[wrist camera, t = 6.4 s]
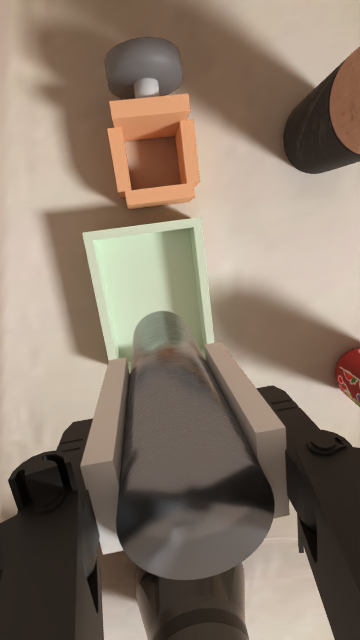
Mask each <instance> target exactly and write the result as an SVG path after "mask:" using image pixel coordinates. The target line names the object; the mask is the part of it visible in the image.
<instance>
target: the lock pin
mask: <svg viewBox="0 0 360 640" xmlns="http://www.w3.org/2000/svg"><path fill="white" fill-rule="evenodd" d="M274 511H275V502H274V495H273V491H272V488H271V486H270V484H269V482H268V480H267V478H266V476H265V474H264V472H263V470H262V468H261V466H260V464H259V462H258V460H257V458H256V457H255V455H254V453H253V451H252V449H251V447H250V445H249V443H248V441H247V439H246V437H245V435H244V433H243V431H242V430H241V428H240V426H239V424H238V422H237V420H236V418H235V416H234V414H233V412H232V410H231V408H230V406H229V405H228V403H227V401H226V399H225V397H224V395H223V393H222V391H221V389H220V387H219V385H218V383H217V381H216V379H215V378H214V376H213V374H212V372H211V370H210V368H209V366H208V364H207V362H206V360H205V358H204V356H203V354H202V352H201V351H200V349H199V347H198V345H197V343H196V341H195V339H194V337H193V335H192V333H191V331H190V329H189V327H188V326H187V324H186V322H185V321H184V320H183V319H182V318H181V317H180V316H178V315H177V314H175V313H172V312H168V311H157V312H153V313H150V314H148V315H147V316H145V317H144V318H143V319H141V320H140V322H139V323H138V324H137V326H136V328H135V331H134V335H133V345H132V355H131V366H130V377H129V388H128V399H127V410H126V420H125V431H124V442H123V453H122V464H121V474H120V485H119V494H118V505H117V515H116V530H117V536H118V539H119V542H120V545H121V547H122V548H123V550H124V552H125V553H126V555H127V556H128V557H129V558H130V559H131V560H132V561H133V562H134V563H135V564H136V565H137V566H139V567H140V568H142V569H143V570H145V571H147V572H149V573H151V574H154V575H156V576H159V577H163V578H167V579H175V580H195V579H201V578H207V577H210V576H214V575H217V574H220V573H222V572H225V571H227V570H229V569H231V568H233V567H235V566H236V565H238V564H239V563H241V562H242V561H244V560H245V559H246V558H248V557H249V556H250V555H251V554H252V553H253V552H254V551H255V550H256V549H257V548H258V547H259V545H260V544H261V543H262V542H263V540H264V538H265V537H266V535H267V533H268V531H269V529H270V527H271V524H272V521H273V517H274Z"/></svg>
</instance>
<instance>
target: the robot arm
mask: <svg viewBox="0 0 360 640" xmlns="http://www.w3.org/2000/svg"><path fill="white" fill-rule="evenodd" d="M204 347H205V355H206V362H207V364H208V366H209V368H210V370H211V372H212V374H213V376H214V378H215V379H216V381H217V383H218V385H219V387H220V389H221V391H222V393H223V395H224V397H225V399H226V401H227V403H228V405H229V406H230V408H231V410H232V412H233V414H234V416H235V418H236V420H237V422H238V424H239V426H240V428H241V430H242V431H243V433H244V435H245V437H246V439H247V441H248V443H249V445H250V447H251V449H252V451H253V453H254V455H255V457H256V458H257V460H258V462H259V464H260V466H261V468H262V470H263V472H264V474H265V476H266V478H267V480H268V482H269V484H270V486H271V488H272V491H273V495H274V502H275V511H274V517H273V518H277V517H282V516H287V515H289V499H290V501H291V503H292V505H293V507H294V508H295V510H296V512H297V522H298V546H299V553H304V548H305V551H306V554H307V557H308V560H309V563H310V566H311V569H312V572H313V575H314V578H315V581H316V584H317V587H318V590H319V593H320V596H321V599H322V602H323V605H324V608H325V611H326V614H327V617H328V620H329V623H330V626H331V629H332V632H333V635H334V638H335V640H360V448H356V447H352V445H351V444H350V443H349V442H348V441H347V440H346V439H345V438H344V437H342V436H340V435H338V434H336V433H333V432H329V431H326V430H320V429H319V428H318V427H317V425H316V424H315V423H314V422H313V421H312V420H311V419H310V418H309V417H308V416H307V415H306V414H305V413H304V412H303V410H302V409H301V408H299V407H298V405H297V404H296V403H295V402H294V401H292V399H291V398H290V396H289V395H288V394H287V393H286V392H285V391H283V390H281V389H279V388H277V387H275V386H267V387H261V388H255V386H254V385H253V384H252V382H251V381H250V380H249V378H248V377H247V376H246V374H245V373H244V372H243V371H242V369H241V368H240V367H239V365H238V364H237V363H236V361H235V360H234V359H233V357H232V356H231V355H230V353H229V352H228V351H227V349H226V348H225V347H224V345H223V344H222V343H221V342H217V343H211V344H205V345H204ZM129 377H130V373H129V368H128V363H127V358H120V359H113V360H109V363H108V366H107V370H106V374H105V377H104V381H103V385H102V388H101V392H100V396H99V399H98V403H97V407H96V410H95V414H94V418H93V419H88V420H82V421H77V422H73V423H72V424H71V425H70V426H69V427H68V428H67V429H66V430H65V431H64V433H63V435H62V438H61V440H60V443H59V445H58V447H57V450H56V451H49V452H44V453H41V454H38V455H36V456H33V457H31V458H30V459H28V460H27V461H25V462H23V463H22V464H21V465H20V466H19V467H17V468H16V469H15V470H14V471H13V473H12V474H11V476H10V478H9V479H8V482H9V485H10V488H11V491H12V494H13V497H14V500H15V502H16V505H17V508H18V513H17V515H15V516H14V517H12V518H10V519H8V520H6V521H4V522H2V523H0V640H104V633H103V613H102V593H101V573H100V570H99V566H98V562H97V551H98V544H99V541H100V545H101V549H102V553H103V555H104V554H109V553H113V552H118V551H123V548H122V547H121V545H120V542H119V539H118V536H117V530H116V515H117V505H118V494H119V485H120V474H121V464H122V453H123V442H124V431H125V420H126V410H127V399H128V388H129ZM303 545H304V547H303ZM135 590H136V599H137V602H138V606H139V609H140V613H141V616H142V620H143V624H144V627H145V631H146V634H147V638H148V640H249V637H248V633H247V629H246V625H245V581H244V570H243V565H242V562H241V563H239V564H238V565H236V566H235V567H233V568H231V569H229V570H227V571H225V572H222V573H220V574H217V575H214V576H210V577H207V578H201V579H195V580H175V579H167V578H163V577H159V576H156V575H154V574H151V573H149V572H147V571H145V570H143V569H142V568H140V567H139V566H137V569H136V589H135Z"/></svg>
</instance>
